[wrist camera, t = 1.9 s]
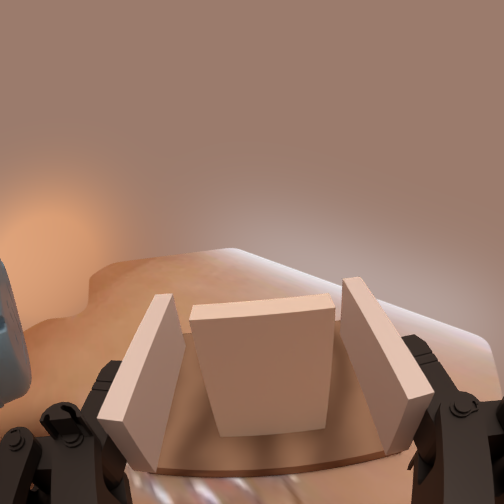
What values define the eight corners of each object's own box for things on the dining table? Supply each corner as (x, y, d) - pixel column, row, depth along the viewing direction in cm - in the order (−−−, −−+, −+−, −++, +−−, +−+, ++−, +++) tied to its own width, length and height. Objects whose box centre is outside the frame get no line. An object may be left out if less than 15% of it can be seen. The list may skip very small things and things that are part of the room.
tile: (220, 436, 26) (188, 320, 21) (221, 418, 28) (193, 302, 23) (325, 428, 26) (335, 307, 21) (321, 410, 28) (327, 291, 23)
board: (149, 473, 23) (143, 465, 23) (182, 342, 44) (180, 333, 43) (400, 452, 22) (404, 444, 22) (348, 327, 43) (349, 319, 42)
